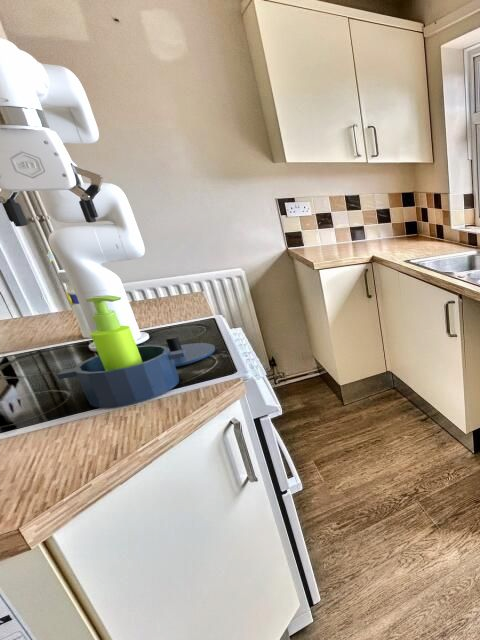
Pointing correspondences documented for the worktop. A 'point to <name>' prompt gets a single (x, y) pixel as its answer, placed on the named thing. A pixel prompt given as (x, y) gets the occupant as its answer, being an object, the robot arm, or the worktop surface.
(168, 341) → the pan lid
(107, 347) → the soap dispenser
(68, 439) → the worktop surface
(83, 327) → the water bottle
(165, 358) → the pan
